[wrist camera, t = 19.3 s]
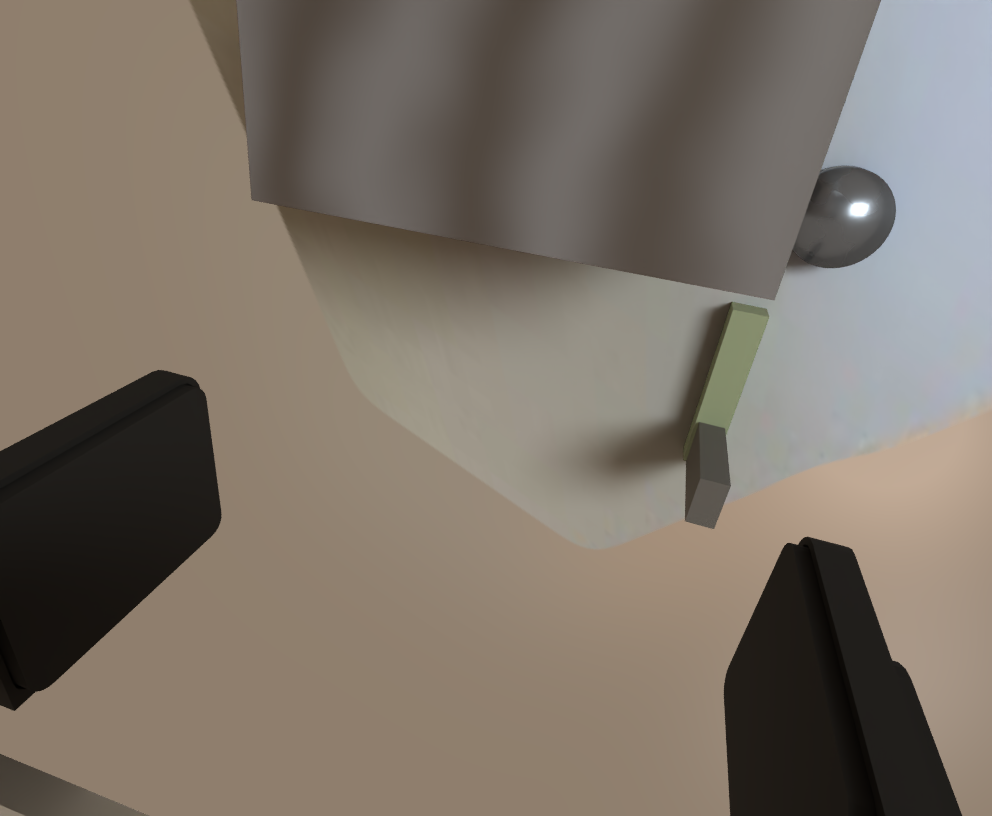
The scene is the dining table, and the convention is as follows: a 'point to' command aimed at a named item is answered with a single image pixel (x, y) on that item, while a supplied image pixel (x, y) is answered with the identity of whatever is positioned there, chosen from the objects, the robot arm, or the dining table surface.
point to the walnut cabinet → (557, 123)
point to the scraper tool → (719, 414)
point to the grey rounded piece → (845, 217)
